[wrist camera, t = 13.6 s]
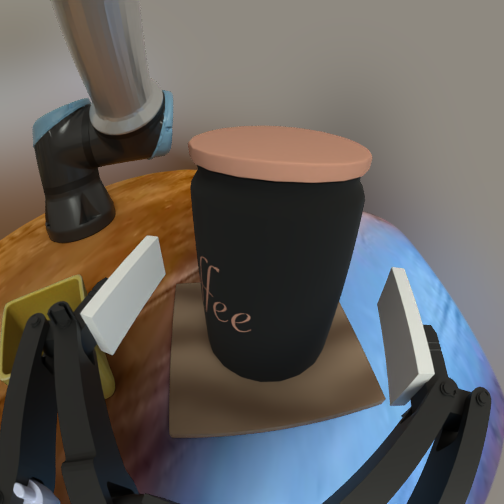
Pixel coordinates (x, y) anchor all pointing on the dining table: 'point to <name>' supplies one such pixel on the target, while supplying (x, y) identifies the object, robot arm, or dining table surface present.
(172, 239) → the dining table surface
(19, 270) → the dining table surface
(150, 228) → the dining table surface
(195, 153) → the coffee jar
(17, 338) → the flower pot
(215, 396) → the walnut board
